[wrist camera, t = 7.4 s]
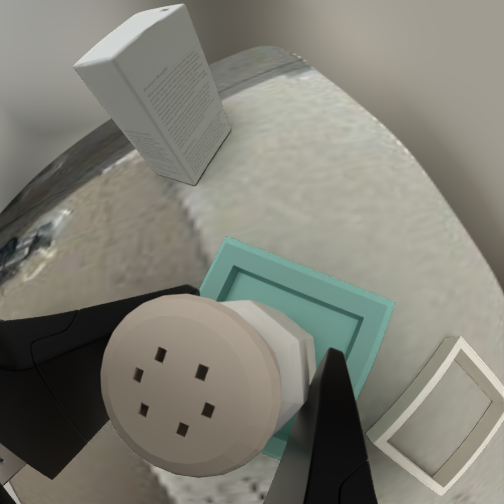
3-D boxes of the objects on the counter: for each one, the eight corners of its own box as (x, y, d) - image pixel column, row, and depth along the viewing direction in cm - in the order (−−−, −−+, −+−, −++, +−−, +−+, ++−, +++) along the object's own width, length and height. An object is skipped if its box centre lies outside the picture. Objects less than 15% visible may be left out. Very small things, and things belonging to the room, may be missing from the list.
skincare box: (191, 122, 22) (137, 11, 11) (232, 130, 21) (188, 1, 10) (153, 176, 21) (69, 66, 10) (194, 189, 20) (112, 57, 9)
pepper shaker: (200, 390, 13) (27, 433, 3) (233, 297, 15) (106, 182, 5) (298, 424, 12) (292, 576, 2) (332, 326, 13) (425, 255, 3)
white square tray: (429, 485, 10) (441, 496, 8) (365, 433, 13) (373, 443, 11) (498, 398, 11) (515, 401, 9) (444, 338, 14) (460, 336, 12)
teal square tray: (315, 468, 12) (316, 482, 10) (155, 391, 15) (139, 395, 14) (392, 303, 15) (403, 297, 13) (228, 239, 18) (220, 226, 16)
